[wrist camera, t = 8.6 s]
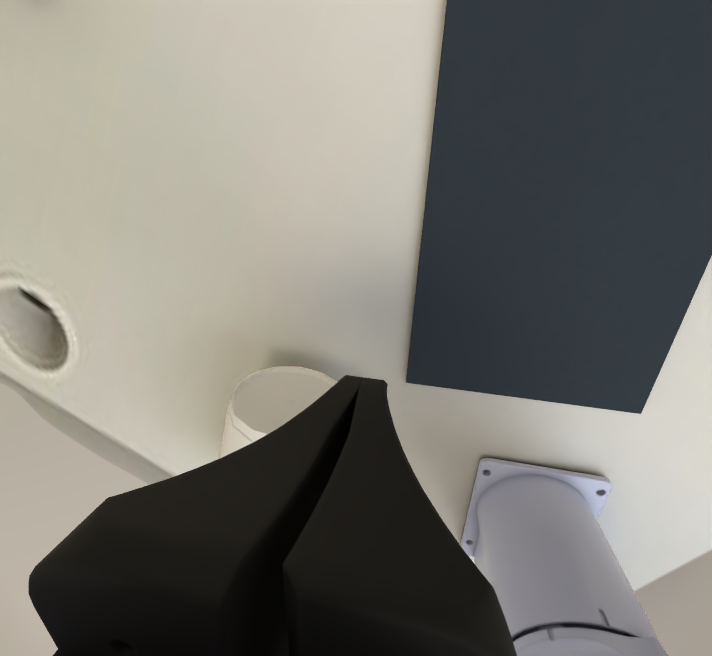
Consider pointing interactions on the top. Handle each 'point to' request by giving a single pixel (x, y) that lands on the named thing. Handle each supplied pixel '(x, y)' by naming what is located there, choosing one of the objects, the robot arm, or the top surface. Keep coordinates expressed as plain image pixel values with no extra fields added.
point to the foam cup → (269, 403)
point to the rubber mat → (564, 198)
